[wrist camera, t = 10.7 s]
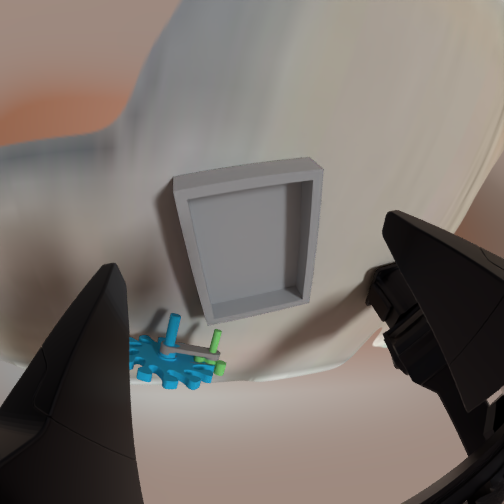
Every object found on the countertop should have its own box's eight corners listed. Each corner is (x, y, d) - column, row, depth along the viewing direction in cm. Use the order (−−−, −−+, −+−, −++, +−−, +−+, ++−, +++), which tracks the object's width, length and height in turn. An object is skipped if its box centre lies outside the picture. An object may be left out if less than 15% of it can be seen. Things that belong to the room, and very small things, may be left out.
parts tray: (309, 157, 21) (323, 168, 19) (300, 286, 30) (309, 302, 28) (173, 177, 19) (173, 191, 18) (204, 306, 29) (207, 325, 27)
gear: (120, 338, 28) (111, 384, 19) (128, 290, 28) (119, 321, 19) (210, 356, 32) (234, 402, 23) (222, 311, 32) (251, 346, 23)
